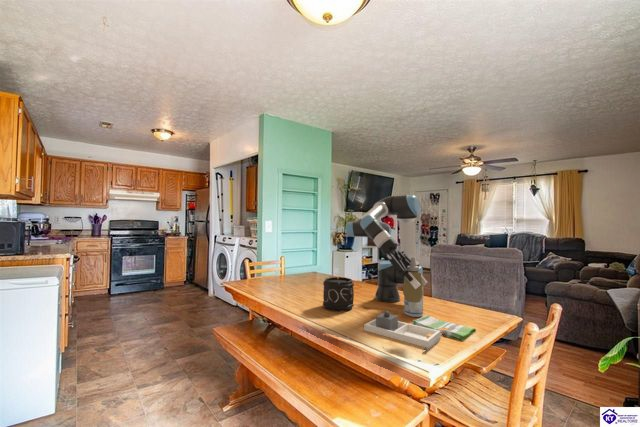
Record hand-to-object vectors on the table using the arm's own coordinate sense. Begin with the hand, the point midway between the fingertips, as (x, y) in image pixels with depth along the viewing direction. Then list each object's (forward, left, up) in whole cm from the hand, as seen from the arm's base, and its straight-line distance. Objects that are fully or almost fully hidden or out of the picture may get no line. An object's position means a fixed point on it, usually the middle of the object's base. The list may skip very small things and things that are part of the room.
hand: (421, 285), depth 122 cm
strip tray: (0, -9, -23) cm, 24 cm away
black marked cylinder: (-16, -54, -23) cm, 61 cm away
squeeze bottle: (0, -4, -7) cm, 8 cm away
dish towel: (-21, +2, -23) cm, 32 cm away
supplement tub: (-32, -17, -23) cm, 43 cm away
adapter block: (0, -16, -22) cm, 27 cm away
